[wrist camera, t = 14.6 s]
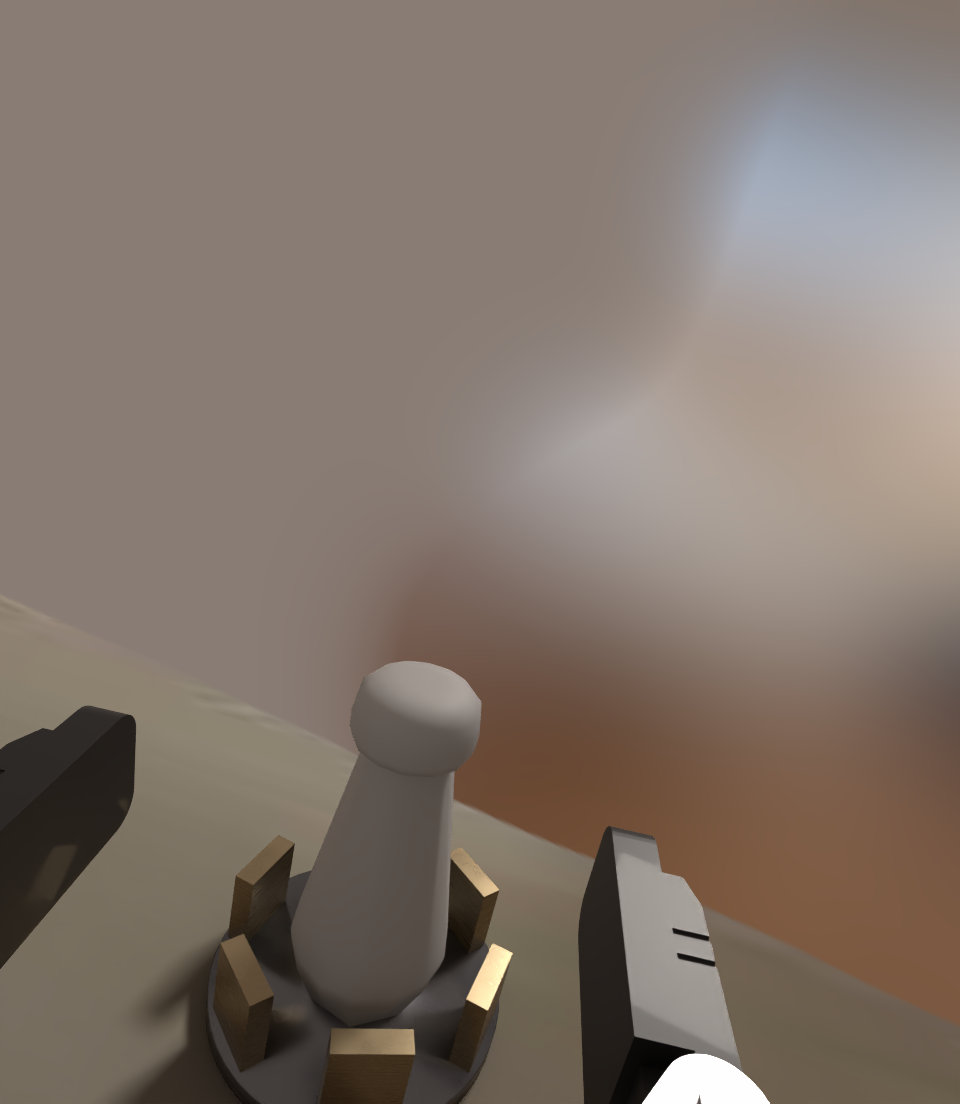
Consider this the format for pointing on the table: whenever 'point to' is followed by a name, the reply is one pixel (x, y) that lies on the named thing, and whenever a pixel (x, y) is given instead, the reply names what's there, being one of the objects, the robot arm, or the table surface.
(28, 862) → the robot arm
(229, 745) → the table surface
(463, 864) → the disc with wooden blocks
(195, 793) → the table surface
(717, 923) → the table surface
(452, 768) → the salt shaker
